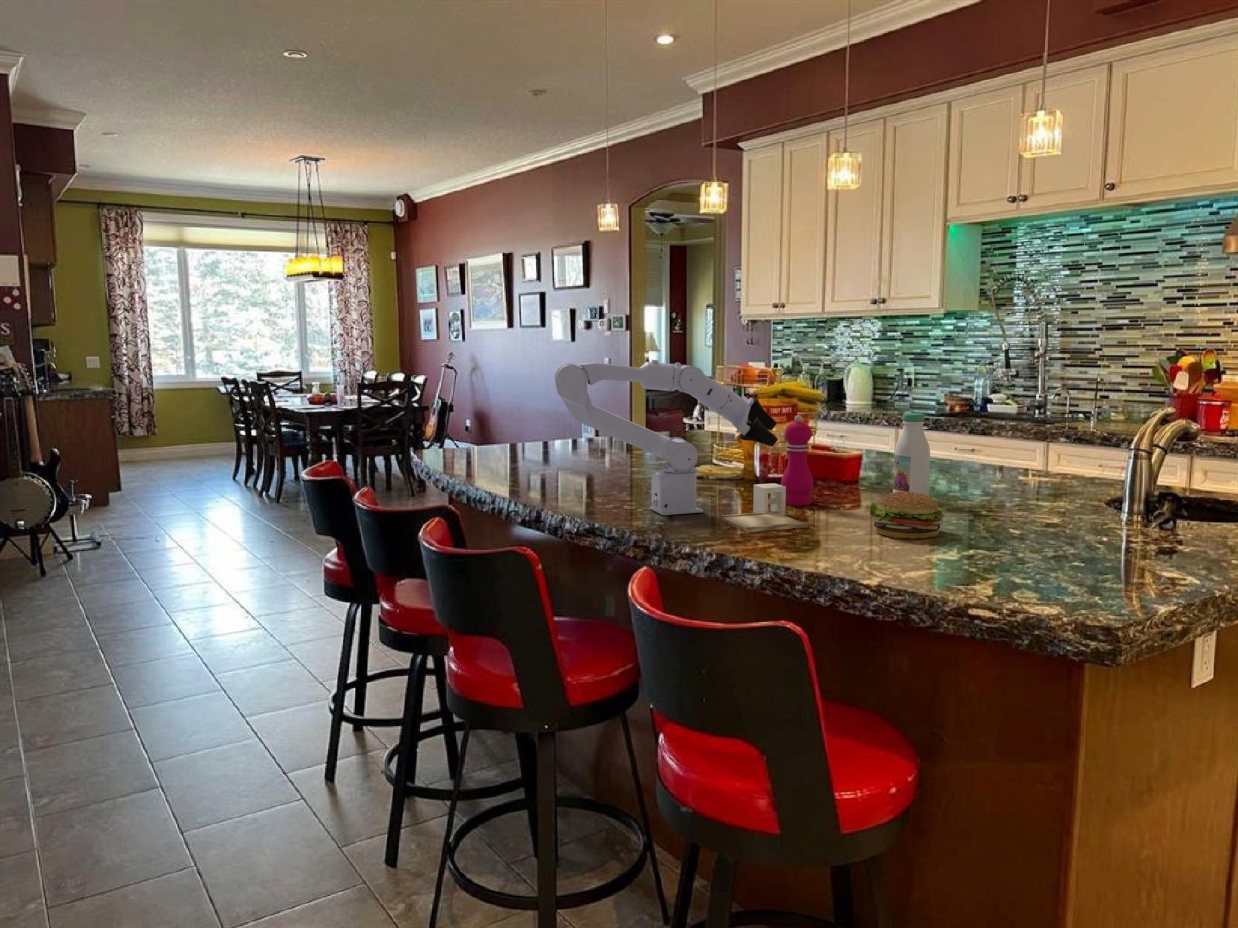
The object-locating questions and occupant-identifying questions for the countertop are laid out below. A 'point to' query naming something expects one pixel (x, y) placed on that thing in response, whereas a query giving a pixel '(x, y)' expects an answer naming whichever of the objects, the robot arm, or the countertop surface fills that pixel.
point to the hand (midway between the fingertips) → (774, 434)
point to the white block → (763, 501)
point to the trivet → (762, 521)
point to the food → (907, 515)
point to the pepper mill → (797, 464)
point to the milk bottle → (912, 457)
